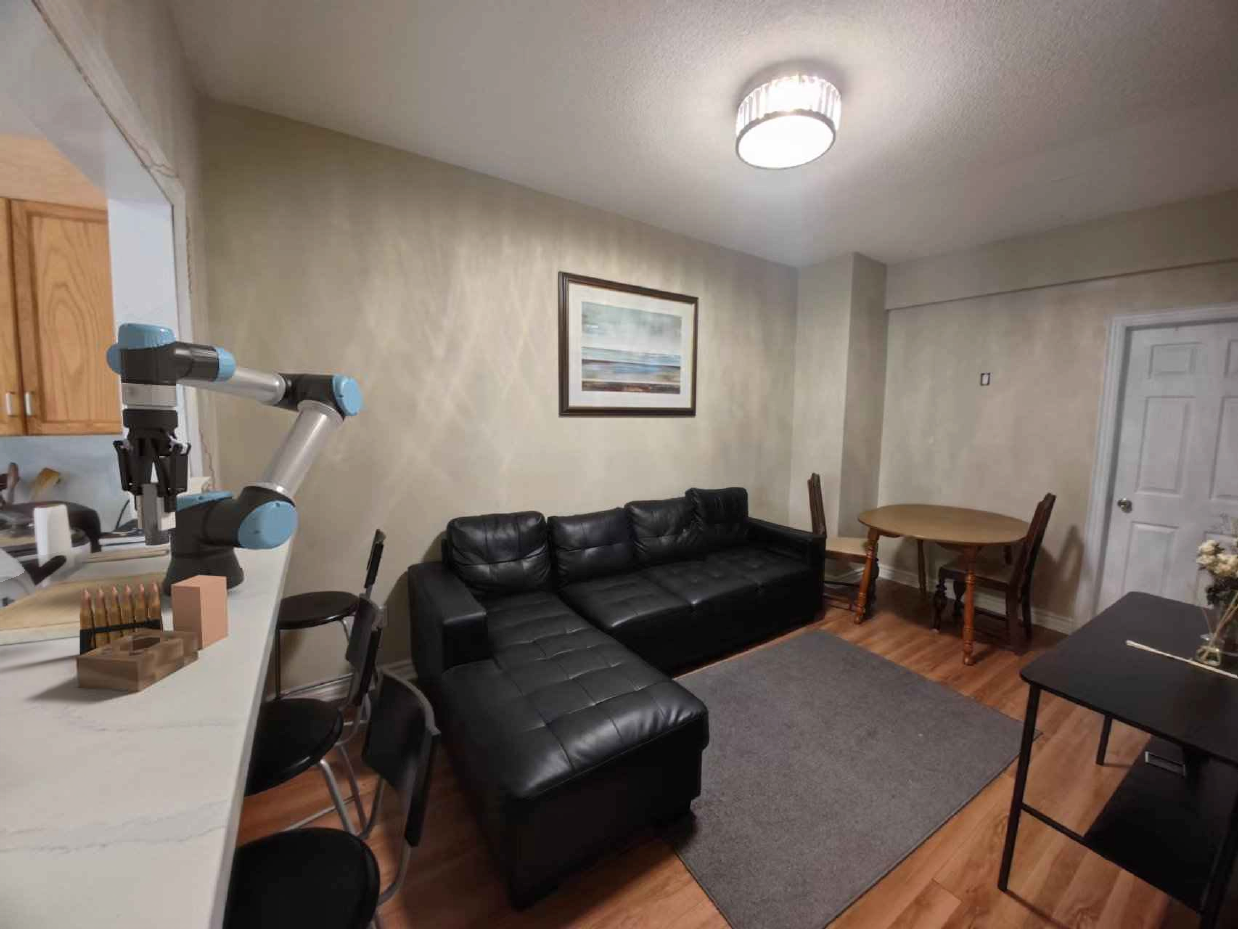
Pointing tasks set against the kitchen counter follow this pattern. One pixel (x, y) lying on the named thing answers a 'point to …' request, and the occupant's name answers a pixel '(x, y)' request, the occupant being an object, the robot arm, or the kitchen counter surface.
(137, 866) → the kitchen counter surface
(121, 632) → the ammunition clip
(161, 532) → the round peg
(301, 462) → the robot arm
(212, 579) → the square peg
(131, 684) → the bore block
